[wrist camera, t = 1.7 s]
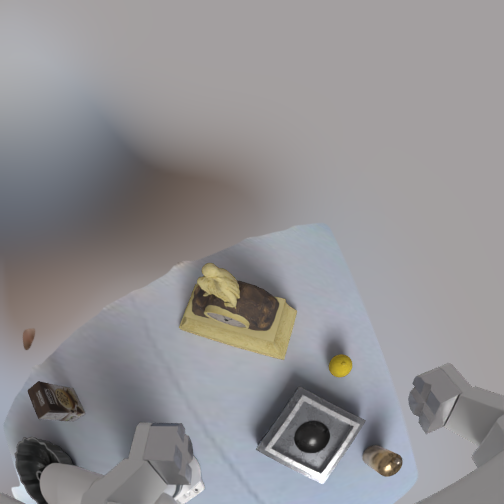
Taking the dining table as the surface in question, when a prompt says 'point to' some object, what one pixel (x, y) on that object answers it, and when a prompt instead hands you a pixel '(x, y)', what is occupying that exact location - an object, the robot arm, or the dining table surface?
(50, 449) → the bundt pan
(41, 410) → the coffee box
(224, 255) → the dining table surface
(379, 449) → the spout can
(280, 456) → the housing
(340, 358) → the lemon
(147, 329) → the dining table surface
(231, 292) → the decorative clock
